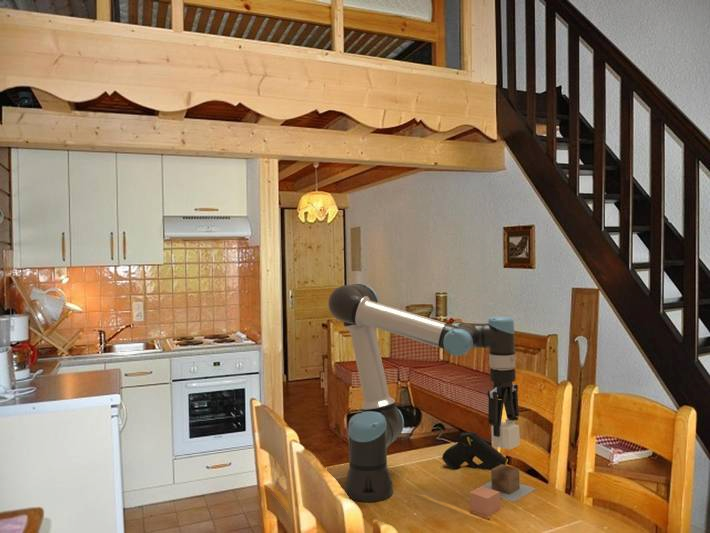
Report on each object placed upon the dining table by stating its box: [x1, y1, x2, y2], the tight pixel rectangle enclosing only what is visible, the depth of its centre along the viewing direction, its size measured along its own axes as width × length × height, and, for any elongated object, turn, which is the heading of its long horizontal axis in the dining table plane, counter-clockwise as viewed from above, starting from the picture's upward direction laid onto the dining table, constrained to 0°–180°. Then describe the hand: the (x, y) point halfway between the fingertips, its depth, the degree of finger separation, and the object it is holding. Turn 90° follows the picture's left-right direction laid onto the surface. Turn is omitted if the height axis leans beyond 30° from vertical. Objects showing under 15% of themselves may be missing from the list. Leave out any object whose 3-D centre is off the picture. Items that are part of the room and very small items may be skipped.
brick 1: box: [468, 485, 501, 521], centre depth 154 cm, size 6×6×6 cm
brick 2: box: [490, 464, 521, 495], centre depth 167 cm, size 6×6×6 cm
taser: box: [442, 431, 509, 471], centre depth 187 cm, size 4×18×15 cm
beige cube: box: [490, 421, 521, 450], centre depth 167 cm, size 6×6×6 cm
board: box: [481, 480, 536, 503], centre depth 167 cm, size 13×13×1 cm
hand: (504, 443), depth 167 cm, fingers closed on beige cube, 6 cm apart
